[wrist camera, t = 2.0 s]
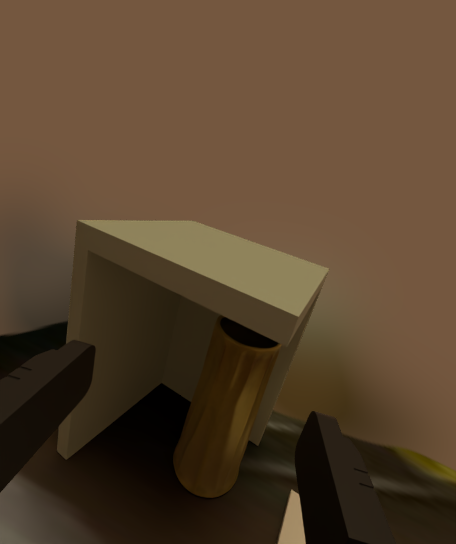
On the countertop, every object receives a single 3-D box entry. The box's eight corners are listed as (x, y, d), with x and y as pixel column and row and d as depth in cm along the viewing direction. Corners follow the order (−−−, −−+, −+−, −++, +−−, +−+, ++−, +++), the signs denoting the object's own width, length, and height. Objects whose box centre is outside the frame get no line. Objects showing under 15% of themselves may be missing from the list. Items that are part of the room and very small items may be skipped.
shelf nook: (56, 451, 22) (76, 220, 16) (159, 373, 33) (193, 220, 27) (195, 583, 17) (298, 316, 11) (261, 439, 28) (329, 268, 22)
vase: (204, 421, 28) (241, 303, 24) (250, 465, 25) (302, 338, 21) (158, 457, 24) (193, 318, 19) (207, 518, 20) (262, 366, 16)
